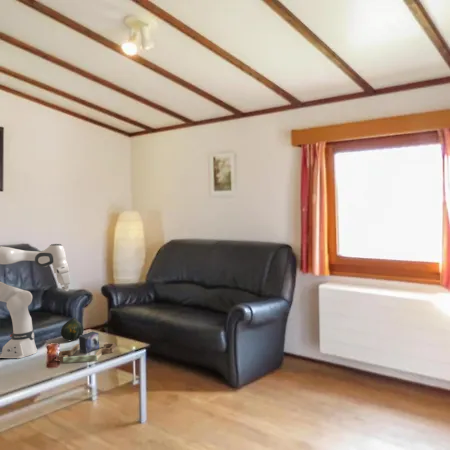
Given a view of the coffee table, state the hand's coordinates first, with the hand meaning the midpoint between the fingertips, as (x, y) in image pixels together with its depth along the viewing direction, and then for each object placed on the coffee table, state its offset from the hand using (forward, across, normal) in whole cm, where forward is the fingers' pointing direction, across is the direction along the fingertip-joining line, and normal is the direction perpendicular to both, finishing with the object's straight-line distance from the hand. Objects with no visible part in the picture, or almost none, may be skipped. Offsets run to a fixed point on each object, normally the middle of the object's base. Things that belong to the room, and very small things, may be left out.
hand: (65, 290), depth 287 cm
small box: (+39, +12, +5) cm, 41 cm away
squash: (+38, -23, +2) cm, 44 cm away
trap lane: (+39, +17, +2) cm, 42 cm away
